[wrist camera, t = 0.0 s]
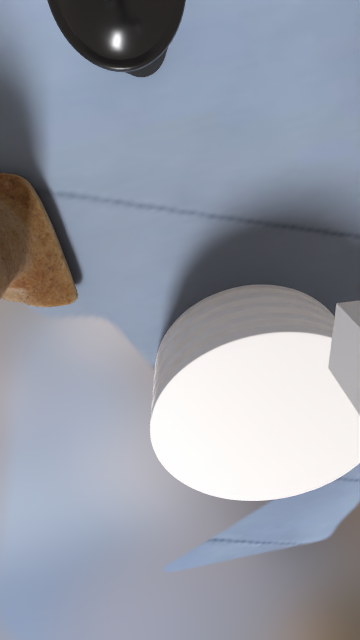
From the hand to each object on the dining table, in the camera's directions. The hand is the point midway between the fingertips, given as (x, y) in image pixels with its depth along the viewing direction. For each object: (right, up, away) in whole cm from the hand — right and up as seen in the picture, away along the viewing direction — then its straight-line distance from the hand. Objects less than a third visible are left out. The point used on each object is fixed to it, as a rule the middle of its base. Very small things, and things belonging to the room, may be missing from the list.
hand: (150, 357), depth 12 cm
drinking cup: (-3, +26, +17) cm, 32 cm away
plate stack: (+11, -6, +37) cm, 39 cm away
